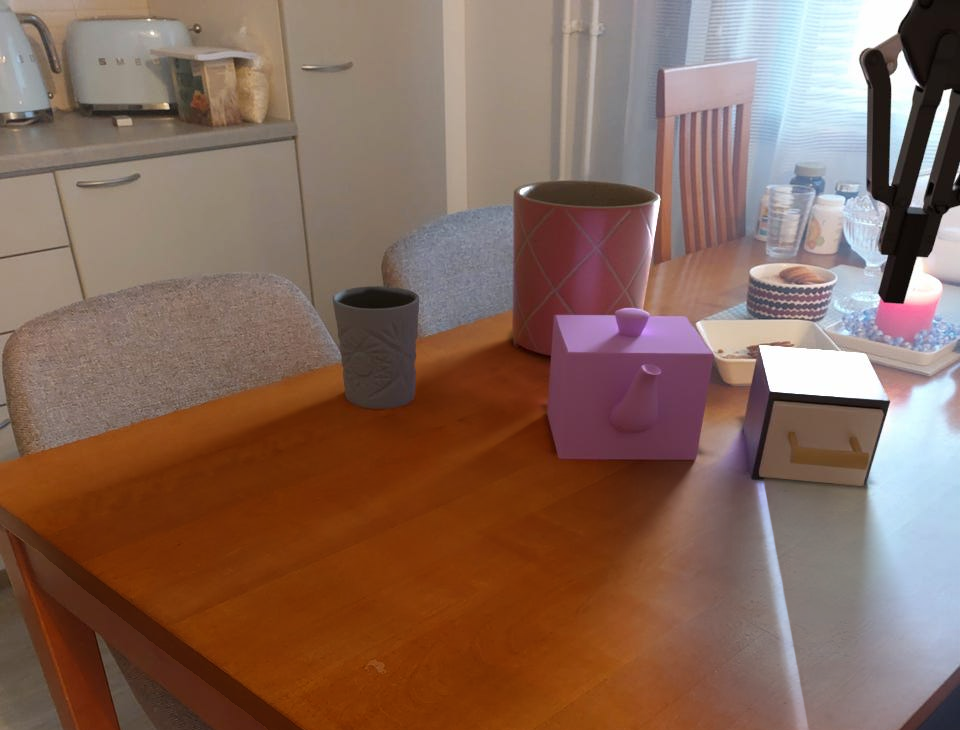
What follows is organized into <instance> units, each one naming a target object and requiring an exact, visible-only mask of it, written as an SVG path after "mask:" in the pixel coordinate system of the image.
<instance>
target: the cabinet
mask: <svg viewBox="0 0 960 730" xmlns="http://www.w3.org/2000/svg"><path fill="white" fill-rule="evenodd" d="M755 358H756V359H755V364H754V367H753V368H754V370H753V374H752V379H751V384H750V388H749V393H748V399H747V404H746V408H745V413H744V419H743V424H742V429H743V435H744V441H745V447H746V454H747V461H748V467H749V474H750V478H751V480H759V481H764V480H765V477H760V476H759V468H760V464H761V459H762V454H763V450H764V445H765V441H766V436H767V431H768V427H769V422H770V418H771V413H772V408H773V404H774V401H776V399H778V400H790V401H802V402H815V403H827V404H839V405H851V406H863V407H871V409H881V410H882V411H883V413H884V415H883V419H882V422H881V426H880V429H879V433H878V436H877V439H876V443H875V446H874V450H873V453H872V457H871V460H870V463H869V467H868V470H867V474H866V477H865V481H864V483H867V482H868V480H869V476H870V473H871V469H872V465H873V462H874V459H875V456H876V452H877V450H878V449H877V448H878V445H879V443H880V442H879V441H880V438H881V435H882V432H883V428H884V424H885V422H886V418H887V415H888V411H889V409H890V408H889V407H890V404H891V400H890V398H889V396H888V394H887V391H886V390H885V388H884V386H883V384H882V382H881V380H880V378H879V377H878V375H877V372H876V371H875V369H874V367H873V365H872V363H871V361H870V359H869V357H868V355H867V353H865V352H864V353H863V352H850V351H836V350H824V349H823V350H822V349H811V348H810V349H809V348H808V349H807V348H797V347H785V346H771V345H759V346H758V349H757V353H756V357H755Z"/></svg>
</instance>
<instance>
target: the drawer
mask: <svg viewBox="0 0 960 730" xmlns="http://www.w3.org/2000/svg"><path fill="white" fill-rule="evenodd" d="M801 402H802V401H801ZM883 415H884V413H883V411H882V410H881V409H871V407H863V406H851V405H839V404H837V406H832V405H820V404H808V403H796V402H792V401H790V400H778V399H776V401H774V404H773V408H772V413H771V418H770V422H769V427H768V431H767V436H766V441H765V445H764V450H763V454H762V459H761V464H760V468H759V476H760V477H763V478H770V479H771V478H772V479H781V480H792V481H793V480H794V481H802V482H814V483H824V484H836V485H847V486H856V487H864V483H865V482H864V481H865V477H866V474H867V470H868V467H869V463H870V460H871V457H872V453H873V450H874V446H875V443H876V439H877V436H878V433H879V429H880V426H881V422H882V419H883Z"/></svg>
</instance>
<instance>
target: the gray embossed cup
mask: <svg viewBox="0 0 960 730" xmlns="http://www.w3.org/2000/svg"><path fill="white" fill-rule="evenodd" d="M332 304H333V310H334V318H335V322H336V327H337V338H338V340H339V354H340V357H341V358H340V359H341V366H342V379H343V380H342V381H343V386H344V393H345V394H344V395H345V398H346V400H347V401H348V402H349V403H350V404H352V405H354V406H357V407H359V408H364V409H369V410H390V409H396V408H400V407H403V406H406V405H408V404H410V403H411V402H413V400H414V399H415V395H416V383H417V382H416V378H417V377H416V376H417V372H416V365H415V364H416V359H417V352H416V349H417V344H416V343H417V338H418V328H419V312H420V311H419V310H420V295H419V294H417V293H416V292H415V291H412V290H410V289H406V288H401V287H395V286H383V285H381V286H380V285H374V286H373V285H372V286H358V287H352V288H348V289H344V290H341V291H338V292H337V293H335V294H334V295H333V296H332Z"/></svg>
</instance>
